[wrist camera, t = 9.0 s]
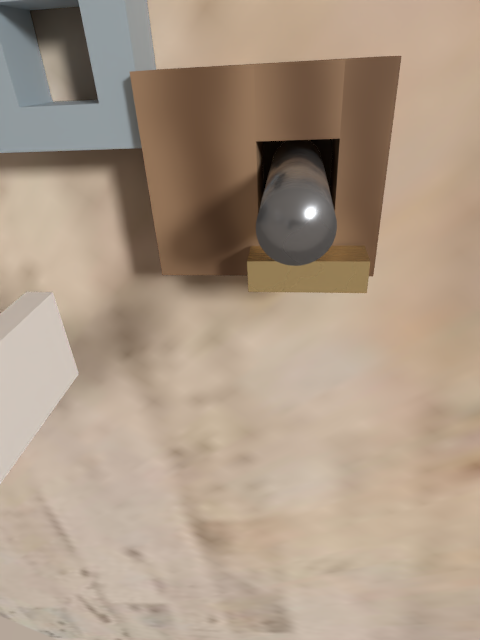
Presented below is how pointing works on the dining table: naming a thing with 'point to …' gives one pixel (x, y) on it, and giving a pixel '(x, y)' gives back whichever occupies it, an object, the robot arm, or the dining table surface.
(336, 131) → the socket block
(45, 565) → the dining table surface
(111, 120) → the grey square holed block
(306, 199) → the steel round bar
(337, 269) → the tan rectangular bar
